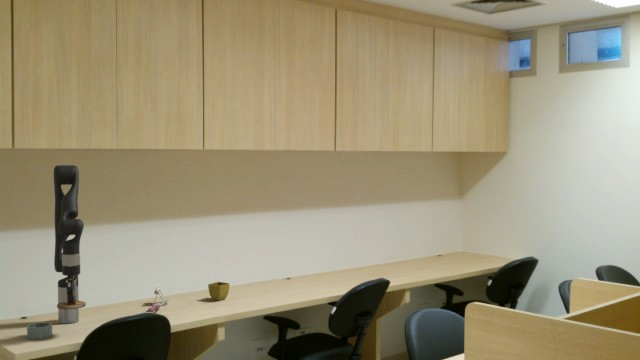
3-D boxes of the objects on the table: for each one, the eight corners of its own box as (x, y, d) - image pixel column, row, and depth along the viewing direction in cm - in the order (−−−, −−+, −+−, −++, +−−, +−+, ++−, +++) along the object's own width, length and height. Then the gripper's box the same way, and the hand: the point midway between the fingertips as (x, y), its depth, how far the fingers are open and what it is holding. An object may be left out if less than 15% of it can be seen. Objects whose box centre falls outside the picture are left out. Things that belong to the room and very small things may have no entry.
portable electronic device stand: (167, 305, 352) (167, 290, 351) (152, 306, 350) (152, 290, 350) (168, 302, 360) (168, 287, 360) (153, 302, 359) (153, 287, 359)
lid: (63, 302, 299) (63, 289, 298) (89, 303, 299) (89, 290, 299) (52, 309, 287) (52, 295, 286) (80, 309, 287) (80, 295, 287)
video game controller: (148, 321, 323) (154, 309, 323) (141, 316, 324) (147, 304, 323) (157, 316, 333) (163, 304, 332) (149, 312, 334) (155, 300, 333)
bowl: (33, 333, 295) (33, 322, 295) (55, 333, 295) (55, 322, 295) (23, 339, 285) (23, 327, 285) (46, 339, 285) (46, 327, 285)
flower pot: (219, 302, 360) (219, 285, 360) (207, 300, 365) (207, 284, 365) (230, 299, 368) (230, 283, 368) (218, 297, 372) (218, 281, 372)
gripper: (64, 261, 298) (64, 299, 299) (59, 266, 284) (60, 306, 285) (82, 260, 300) (82, 298, 300) (78, 266, 286) (78, 305, 287)
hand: (71, 302), depth 293 cm, fingers closed on lid, 3 cm apart
